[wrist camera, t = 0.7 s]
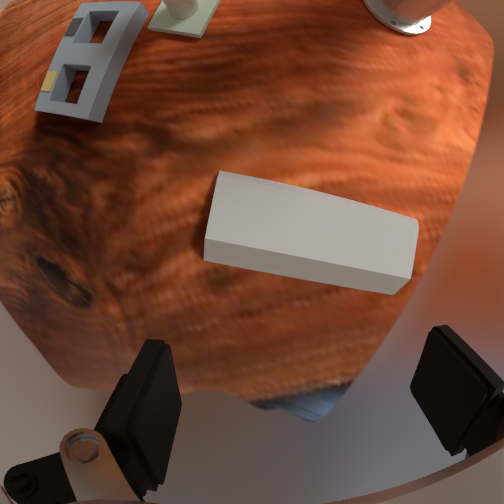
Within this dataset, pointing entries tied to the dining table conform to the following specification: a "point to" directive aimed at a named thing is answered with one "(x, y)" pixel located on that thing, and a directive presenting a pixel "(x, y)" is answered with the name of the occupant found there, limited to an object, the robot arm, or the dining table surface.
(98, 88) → the socket block
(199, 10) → the square base plate
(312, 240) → the crown molding
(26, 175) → the dining table surface
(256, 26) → the dining table surface
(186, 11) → the plug
